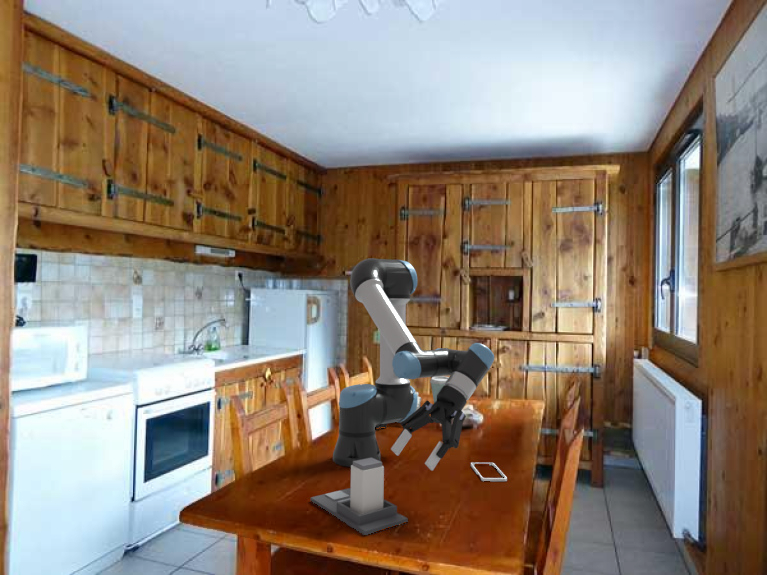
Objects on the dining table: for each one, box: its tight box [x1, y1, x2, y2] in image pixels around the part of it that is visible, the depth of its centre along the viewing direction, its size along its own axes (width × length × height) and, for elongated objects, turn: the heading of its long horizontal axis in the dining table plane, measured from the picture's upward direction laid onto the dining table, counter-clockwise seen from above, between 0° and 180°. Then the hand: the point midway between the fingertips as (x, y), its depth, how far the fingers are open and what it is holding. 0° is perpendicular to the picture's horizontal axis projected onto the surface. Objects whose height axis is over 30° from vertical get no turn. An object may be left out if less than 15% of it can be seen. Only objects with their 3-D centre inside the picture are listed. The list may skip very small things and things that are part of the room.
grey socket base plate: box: [310, 487, 409, 536], centre depth 130 cm, size 24×12×3 cm, turn 37°
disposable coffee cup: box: [429, 376, 450, 404], centre depth 251 cm, size 11×11×15 cm
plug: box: [350, 458, 385, 514], centre depth 127 cm, size 5×6×12 cm
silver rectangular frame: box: [470, 462, 508, 482], centre depth 160 cm, size 7×1×15 cm
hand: (410, 459), depth 134 cm, fingers open, 13 cm apart
